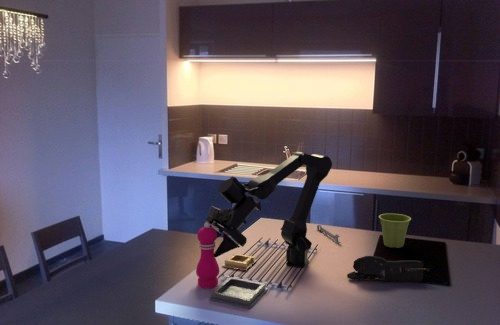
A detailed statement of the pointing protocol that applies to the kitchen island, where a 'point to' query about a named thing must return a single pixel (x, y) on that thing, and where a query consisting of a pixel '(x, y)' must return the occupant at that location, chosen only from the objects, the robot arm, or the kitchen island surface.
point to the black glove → (387, 270)
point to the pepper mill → (207, 258)
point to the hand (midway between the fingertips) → (208, 251)
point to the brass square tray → (239, 262)
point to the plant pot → (394, 229)
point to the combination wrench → (329, 234)
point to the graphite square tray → (239, 292)
